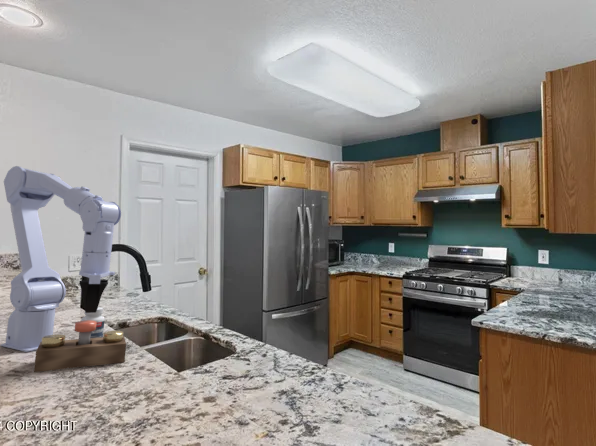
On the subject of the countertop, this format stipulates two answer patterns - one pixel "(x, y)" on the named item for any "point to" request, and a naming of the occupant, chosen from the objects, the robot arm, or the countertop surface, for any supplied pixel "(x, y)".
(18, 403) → the countertop surface
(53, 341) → the left brass button
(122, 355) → the block
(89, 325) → the red knob
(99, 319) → the pill bottle
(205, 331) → the countertop surface
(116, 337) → the right brass button
